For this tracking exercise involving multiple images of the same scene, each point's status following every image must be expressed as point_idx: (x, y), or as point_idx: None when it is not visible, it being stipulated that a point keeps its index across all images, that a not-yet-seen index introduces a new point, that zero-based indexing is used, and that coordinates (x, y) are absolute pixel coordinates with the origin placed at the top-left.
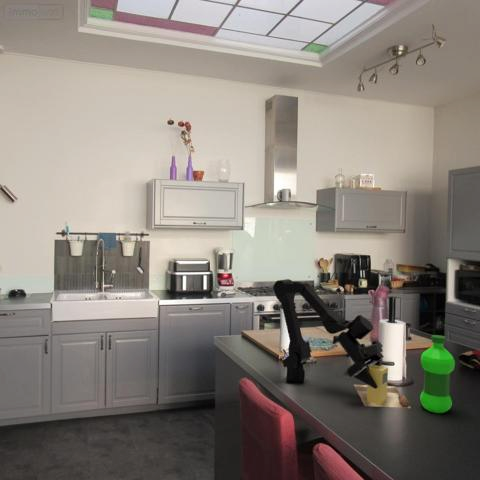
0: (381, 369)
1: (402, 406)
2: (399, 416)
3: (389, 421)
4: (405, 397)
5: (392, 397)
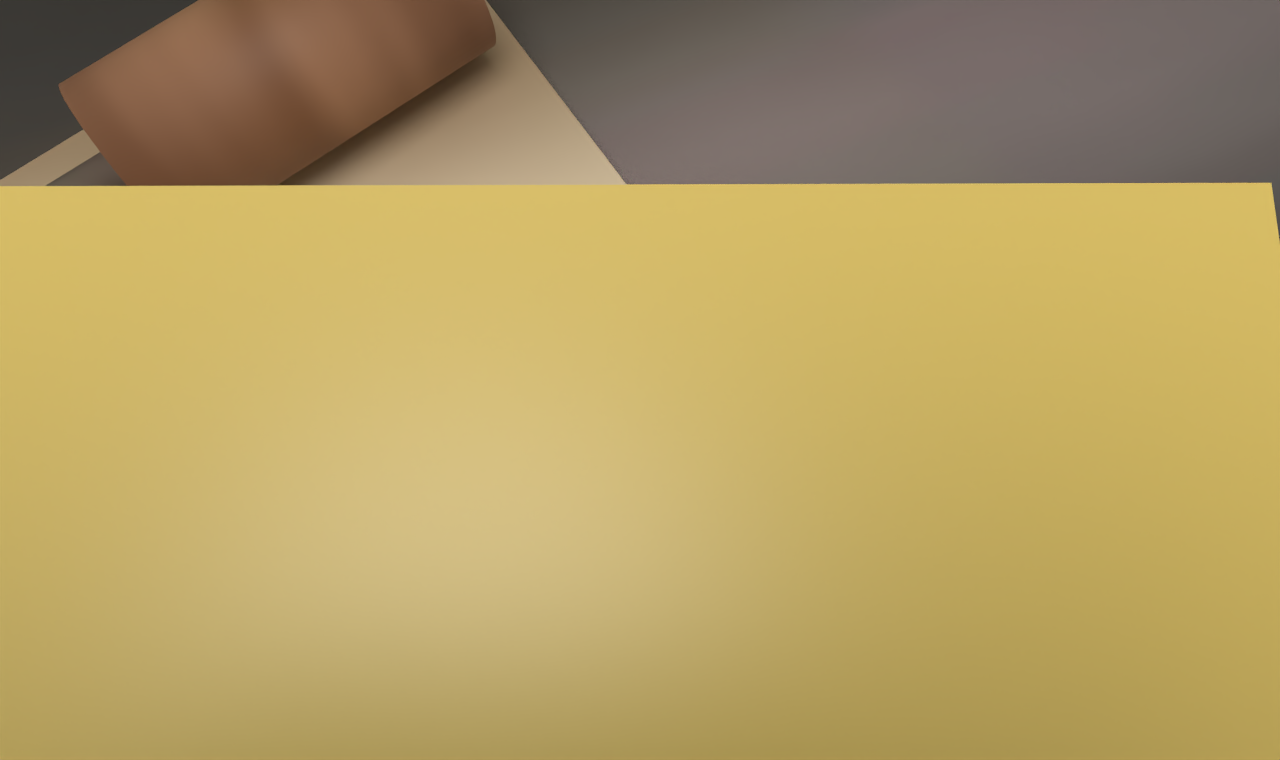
0: (785, 491)
1: (464, 77)
2: (893, 13)
3: (1253, 67)
4: (205, 5)
5: None
